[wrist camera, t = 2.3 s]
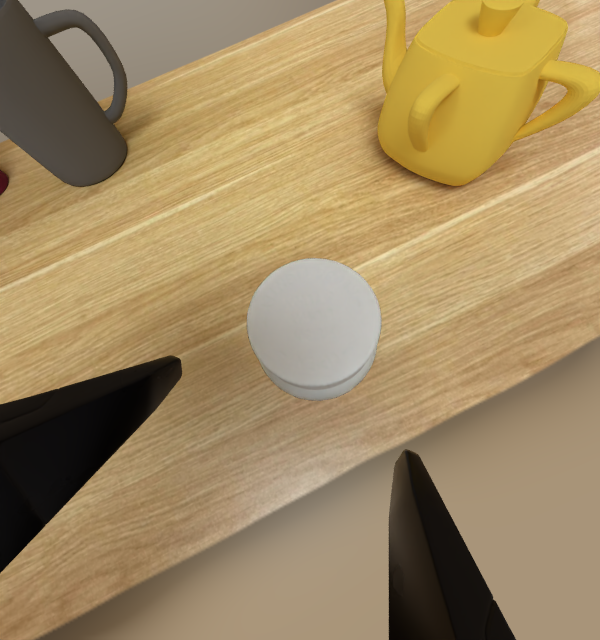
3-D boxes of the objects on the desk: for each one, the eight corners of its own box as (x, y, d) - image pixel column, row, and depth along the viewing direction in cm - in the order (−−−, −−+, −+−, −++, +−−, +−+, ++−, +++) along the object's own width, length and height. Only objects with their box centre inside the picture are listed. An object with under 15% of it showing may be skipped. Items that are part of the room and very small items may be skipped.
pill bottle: (292, 317, 21) (259, 233, 11) (363, 333, 20) (407, 258, 10) (272, 388, 20) (207, 375, 9) (348, 410, 19) (381, 424, 8)
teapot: (368, 204, 24) (398, 72, 14) (358, 113, 28) (377, -39, 18) (518, 193, 23) (663, 42, 13) (486, 100, 27) (578, -70, 17)
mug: (64, 200, 28) (-109, 68, 17) (52, 152, 31) (-103, 11, 20) (172, 150, 29) (75, -9, 18) (151, 107, 32) (56, -52, 21)
